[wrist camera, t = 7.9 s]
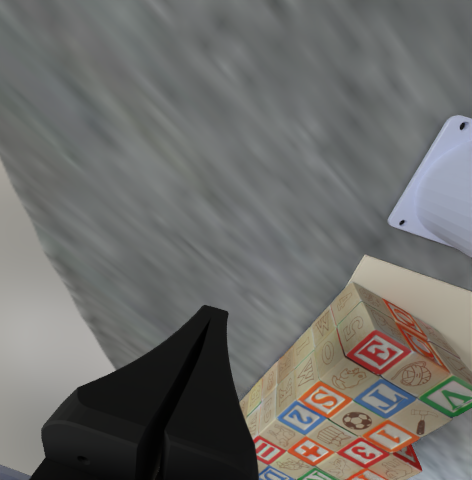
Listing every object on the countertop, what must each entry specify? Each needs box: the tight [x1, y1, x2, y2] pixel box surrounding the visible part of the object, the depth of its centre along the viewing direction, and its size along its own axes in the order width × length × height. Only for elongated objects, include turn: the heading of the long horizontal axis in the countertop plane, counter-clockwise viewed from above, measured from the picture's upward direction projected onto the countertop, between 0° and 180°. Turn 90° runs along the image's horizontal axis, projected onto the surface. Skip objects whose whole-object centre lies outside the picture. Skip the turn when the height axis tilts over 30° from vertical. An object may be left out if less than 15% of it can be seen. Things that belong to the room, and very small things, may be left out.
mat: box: [345, 255, 472, 372], centre depth 25 cm, size 14×26×1 cm, turn 163°
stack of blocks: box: [240, 281, 472, 480], centre depth 23 cm, size 21×6×12 cm
